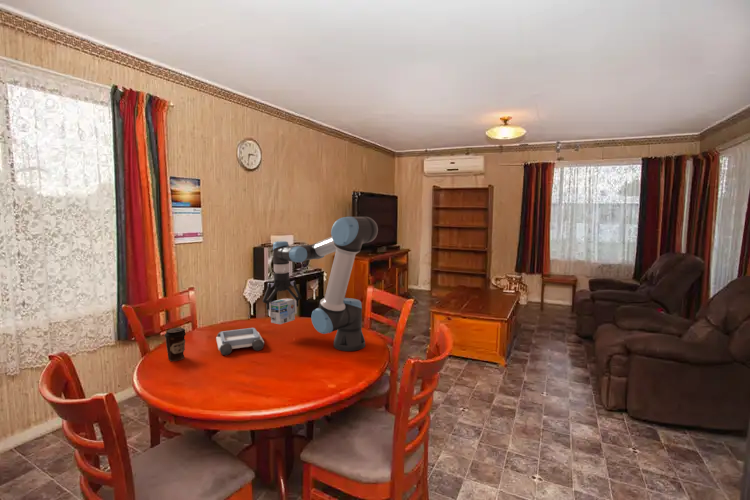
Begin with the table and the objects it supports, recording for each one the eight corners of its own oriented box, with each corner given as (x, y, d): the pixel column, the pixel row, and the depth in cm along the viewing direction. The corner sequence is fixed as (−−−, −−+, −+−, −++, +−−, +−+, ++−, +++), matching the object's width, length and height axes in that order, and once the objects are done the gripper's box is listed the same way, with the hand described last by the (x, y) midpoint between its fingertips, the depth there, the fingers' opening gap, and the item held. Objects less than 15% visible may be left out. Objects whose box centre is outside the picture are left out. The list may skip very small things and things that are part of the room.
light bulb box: (280, 324, 191) (279, 303, 190) (270, 323, 194) (269, 301, 193) (295, 319, 200) (294, 299, 199) (285, 318, 203) (285, 297, 202)
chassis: (264, 349, 182) (264, 338, 182) (219, 356, 174) (218, 344, 173) (257, 336, 201) (257, 325, 201) (216, 341, 193) (215, 330, 192)
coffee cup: (191, 357, 173) (190, 328, 171) (175, 363, 165) (173, 334, 164) (178, 354, 176) (176, 326, 175) (161, 360, 169) (159, 331, 167)
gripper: (303, 269, 203) (304, 310, 205) (255, 273, 193) (257, 315, 195) (307, 271, 197) (308, 313, 199) (257, 275, 186) (259, 319, 188)
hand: (282, 314), depth 197 cm, fingers closed on light bulb box, 12 cm apart
